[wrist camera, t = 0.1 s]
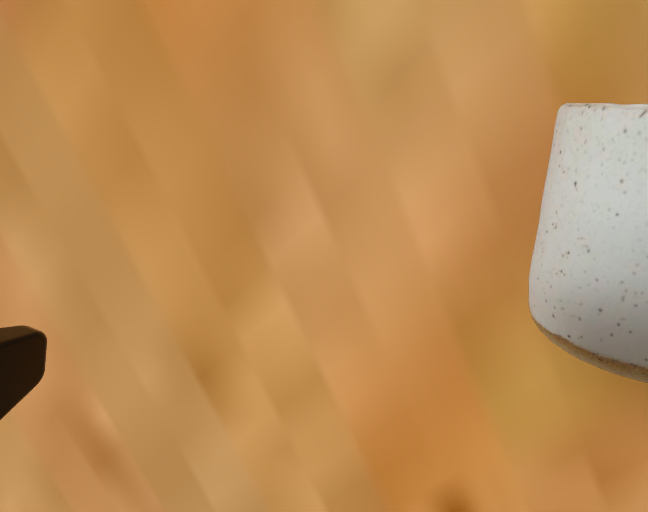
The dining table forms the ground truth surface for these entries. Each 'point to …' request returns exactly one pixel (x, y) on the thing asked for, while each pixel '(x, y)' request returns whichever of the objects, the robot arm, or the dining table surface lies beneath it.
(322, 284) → the dining table surface
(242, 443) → the dining table surface
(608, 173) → the ceramic mug
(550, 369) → the dining table surface
